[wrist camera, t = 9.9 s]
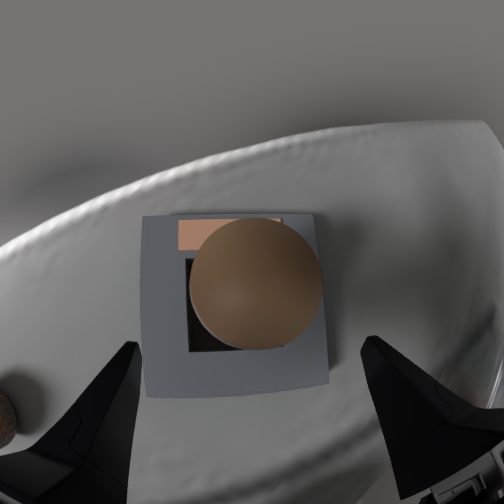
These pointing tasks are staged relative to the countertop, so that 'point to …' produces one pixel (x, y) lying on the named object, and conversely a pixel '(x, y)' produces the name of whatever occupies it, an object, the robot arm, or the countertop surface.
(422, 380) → the robot arm
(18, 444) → the countertop surface
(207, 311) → the walnut peg
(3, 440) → the vase
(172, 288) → the socket block
